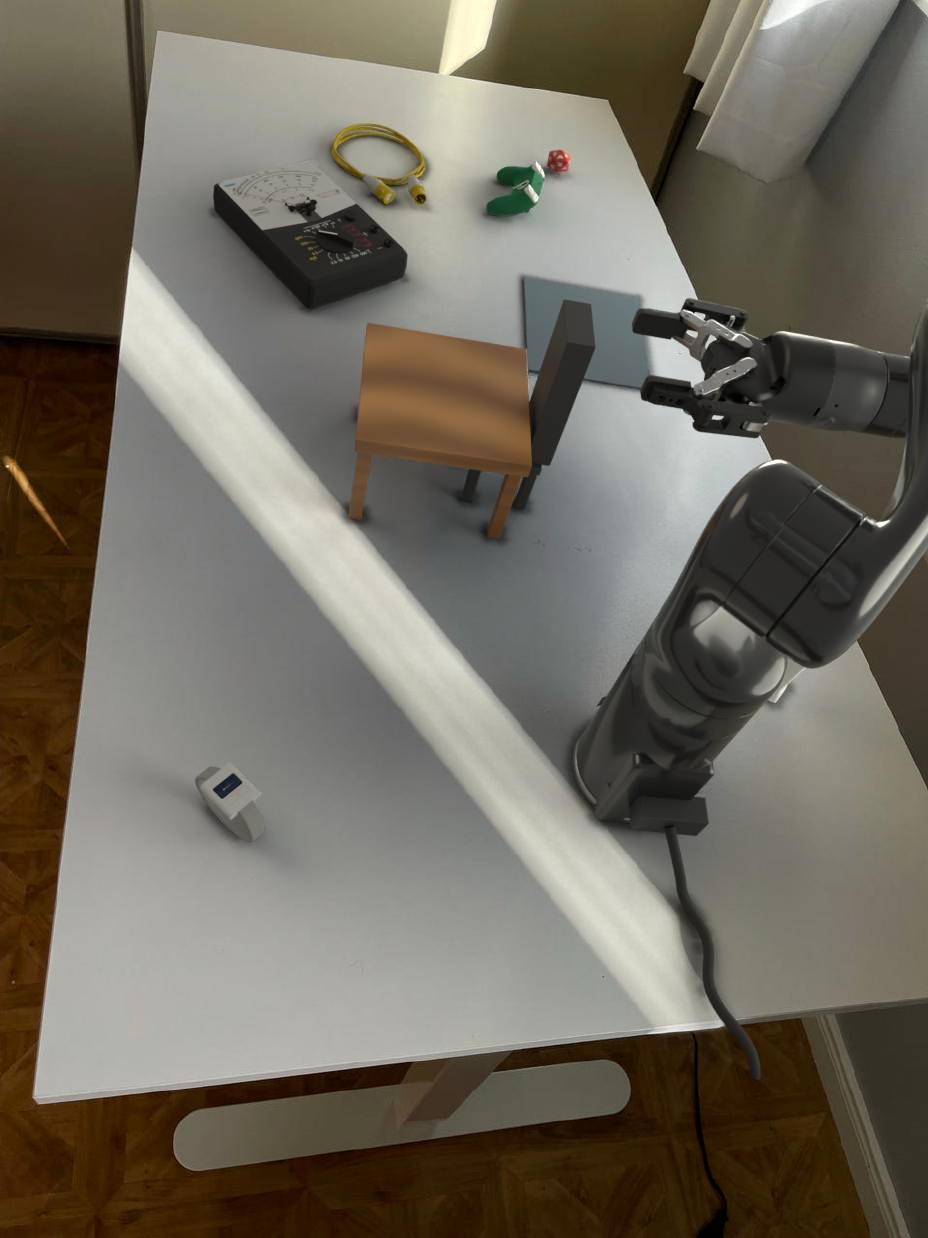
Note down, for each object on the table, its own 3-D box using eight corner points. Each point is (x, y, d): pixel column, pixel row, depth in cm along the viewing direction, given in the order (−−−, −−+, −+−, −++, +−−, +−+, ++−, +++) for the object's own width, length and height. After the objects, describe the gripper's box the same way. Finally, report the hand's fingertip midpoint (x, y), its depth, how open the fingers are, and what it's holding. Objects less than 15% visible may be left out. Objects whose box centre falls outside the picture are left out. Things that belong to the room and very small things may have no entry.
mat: (651, 390, 110) (651, 389, 110) (527, 370, 108) (528, 369, 108) (637, 298, 119) (638, 297, 119) (523, 278, 117) (524, 276, 117)
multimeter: (308, 313, 106) (311, 273, 102) (211, 210, 112) (211, 169, 108) (405, 280, 112) (412, 241, 108) (308, 185, 119) (311, 145, 115)
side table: (503, 542, 93) (532, 465, 85) (343, 521, 91) (355, 439, 82) (501, 428, 102) (527, 348, 93) (355, 406, 99) (367, 322, 91)
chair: (531, 463, 100) (591, 299, 84) (533, 512, 96) (596, 351, 80) (460, 453, 99) (506, 284, 83) (459, 502, 95) (508, 336, 79)
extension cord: (323, 194, 118) (324, 178, 117) (337, 124, 128) (338, 108, 126) (424, 214, 120) (426, 199, 119) (431, 143, 129) (433, 128, 128)
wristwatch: (273, 834, 73) (276, 806, 69) (243, 859, 71) (245, 832, 67) (216, 777, 75) (216, 746, 70) (187, 801, 73) (185, 770, 69)
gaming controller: (498, 233, 124) (539, 213, 121) (482, 207, 122) (524, 186, 119) (510, 194, 129) (550, 174, 126) (495, 168, 127) (536, 147, 124)
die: (541, 164, 132) (547, 142, 129) (563, 165, 133) (569, 143, 130) (548, 177, 130) (554, 156, 128) (569, 178, 131) (576, 157, 129)
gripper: (821, 296, 88) (645, 263, 85) (856, 408, 80) (663, 376, 77) (782, 361, 94) (617, 332, 91) (811, 472, 86) (631, 444, 83)
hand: (638, 352), depth 84 cm, fingers open, 8 cm apart
